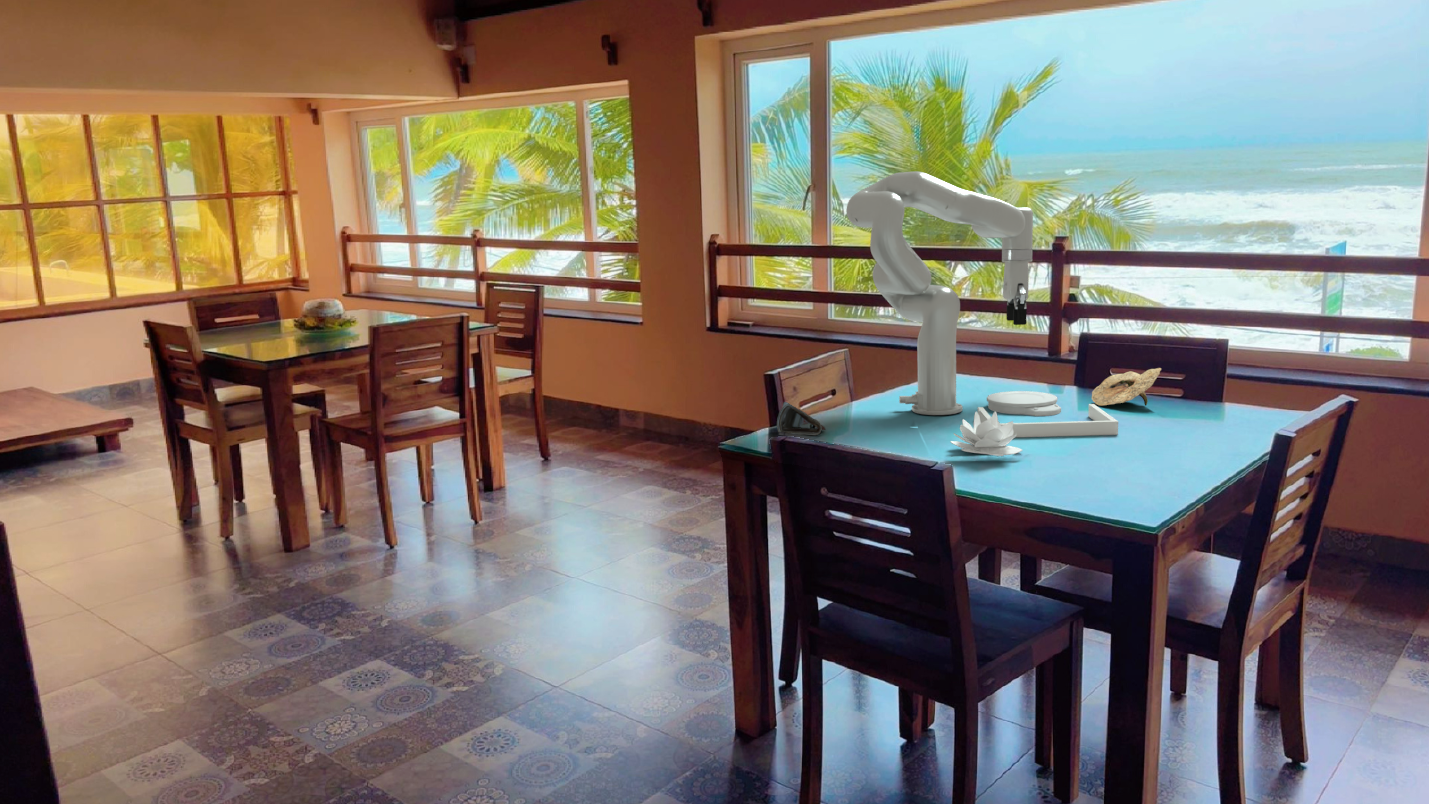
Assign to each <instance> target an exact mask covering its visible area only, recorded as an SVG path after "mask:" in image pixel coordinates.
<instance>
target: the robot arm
mask: <svg viewBox="0 0 1429 804" xmlns="http://www.w3.org/2000/svg"><path fill="white" fill-rule="evenodd" d="M905 208H914V209H916V210H920V212H924V213H927V215H930V216H934V217H936V218H938V219H940V220H943V221H946V222H948V223H949V222H950V223H954V224H961V225H962V224H963V225H971V228H972V230H973V233H974V234H976V235H977V236H979V237H982V238H986V239H998V238H999V239H1001V242H1002V243H1001V245H1002V247H1001V262H1002V263H1004V269H1003V285H1002V286H1003V287H1002V288H1003V289H1002V297H1003V299H1005V300H1006V321H1009V322H1010V321H1011V322H1012V323H1013V325H1014V326H1018V325H1019V326H1021V325H1022V326H1023V325H1024V326H1025V325H1027V317H1028V315H1027V314H1028V311H1027V300H1028V298H1029V263H1030V262H1031V263H1032V262H1033V238H1034V236H1033V232H1034V226H1033V225H1034V221H1033V220H1034V212H1033V210H1032V209H1031V208H1030V207H1026V206H1025V207H1022V206H1021V207H1016V206H1014V205H1012V204H1010V203H1008V202H1005V201H1003V200H1001V199H998V198H995V197H992V196H988V195H986V194H985V195H984V194H982V193H977V192H975V191H970V190H967V189H963V188H961V187H958V186H956V185H953V184H951V183H949V182H946V181H944V180H942V179H940V178H938V177H936V176H933V175H930V174H928V173H926V172H923V171H918V170H917V171H905V172H904V171H903V172H895V173H892V174H890V175H888V176H886V177H883V178H882V179H879V180H878V181H876V182H875V183H873V184H871V185H869V186H867V187H865V188H863V189H861V190H860V191H857V192H856V193H854V194H853V195H852V196H851V197H850V199H848V202H847V204H846V210H845V211H846V215H847V217H846V218H847V219H848V220H849V221H850V223H851V224H853V225H854V226H856V227H859V228H871V232H870V233H871V234H870V243H869V244H870V245H869V248H870V252H871V255H872V258H873V259H874V260H875V262H876V263H875V264H874V267H873V268H872V280H873V284H874V285H875V288H876V290H877V291H878V293H880V294H881V296H882V297H883V298H884V299H885V301H887V302H888V303H889V305H890V306H891V307H892V308H893V309H894V310H895V311H896V312H897V313H898V314H899V315H900V316H901V317H902V318H904V319H905V320H908V321H911V322H915V323H922V325H921V327H920V330H919V333H918V336H917V343H916V346H917V348H916V350H917V391H915V394H911V395H899V398H898V399H899V401H898V402H899V404H905V405H910V404H912V406H911V411H912V412H913V413H915V414H920V415H924V416H925V415H928V416H947V415H955V414H959V413H961V412H962V411H963V404H960V403H958V402H957V331H958V330H957V329H958V322H959V317H960V311H961V301H960V297H959V296H958V294H957V293H956V291H954V290H953V289H952V288H950V287H947V286H944V285H937V284H932V274H931V271H930V269H929V267H928V266H927V264H926V263H925V262H924V261H923V260H922V259H921V257H920V256H919V255H918V254H917V253H916V251H915V250H914V249H913V248H912V247H911V246H910V245H909V243H908V242H907V240H906V239H905V236H904V233H903V224H904V217H905Z"/></svg>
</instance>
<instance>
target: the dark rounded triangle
mask: <svg viewBox="0 0 1429 804" xmlns="http://www.w3.org/2000/svg"><path fill="white" fill-rule="evenodd" d="M776 420H777V421H776V427H777V432H778V433H786V434H787V433H788V434H792V435H793V434H794V435H801V436H803V435H806V436H817V435H819V434H821V431H826V428H825V426H824V425H823V424H822V423H821V422H820V421H819V420H817V419H816V418H813V417H812V416H810V415H808V413H807V412H805V411H804V410H802V409H799V408H798V407H796V406H794V405H792V404H791V403H789V402H787V401H784V402H783V404H782V408H781V409H780V411H779V412H778V416H777V419H776Z"/></svg>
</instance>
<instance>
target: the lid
mask: <svg viewBox="0 0 1429 804" xmlns="http://www.w3.org/2000/svg"><path fill="white" fill-rule="evenodd" d="M1058 399H1059V398H1058V397H1057V396H1056V395H1055V394H1052V393H1049V392H1048V393H1047V392H1042V391H1041V392H1040V391H1032V390H1031V391H1026V390H1025V391H1024V390H1016V391H1013V390H1012V391H1001V392H995V393H991V394H989V395H987V396H986V402H988V403H987V406H988V407H987V408H988V409H989V410H991V411H992V412H995V411H996V413H1000V414H1007V415H1008V414H1009V415H1026V416H1033V417H1049V416H1055V415H1059V414H1060V413H1061V414H1062V407H1061V406H1059V404H1057V402H1058Z"/></svg>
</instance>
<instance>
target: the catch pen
mask: <svg viewBox="0 0 1429 804" xmlns="http://www.w3.org/2000/svg"><path fill="white" fill-rule="evenodd" d="M977 413H978V415H979V417H980V421H981V423H982V422H984V421H987V420H988V419H990V418H991V417H992V415H990V414H989V412H988V411H987V410H986V409H985V408H984V407H983V406H978V407H977ZM1088 418H1090V419H1091V420H1085V421H1084V420H1080V421H1078V420H1075V421H1049V422H1048V421H1047V422H1046V421H1044V422H1043V421H1042V422H1040V421H1039V422H1013V431H1014V434H1013V435H1015V434H1017V435H1016V437H1015V438H1037V437H1039V438H1040V437H1041V438H1042V437H1043V438H1044V437H1046V438H1047V437H1079V436H1081V437H1083V436H1114V435H1115V436H1118V435H1119V420H1117V419H1115V417H1113V416H1112V415H1110V414H1108V413H1107V412H1106V411H1104V410H1103V409H1102V408H1100V407H1099V406H1097V404H1095V403H1088ZM1000 424H1001V426H1003V425H1005V424H1006V423H1005V422H1004V423H1003V422H1002V423H1001V422H1000Z"/></svg>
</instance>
